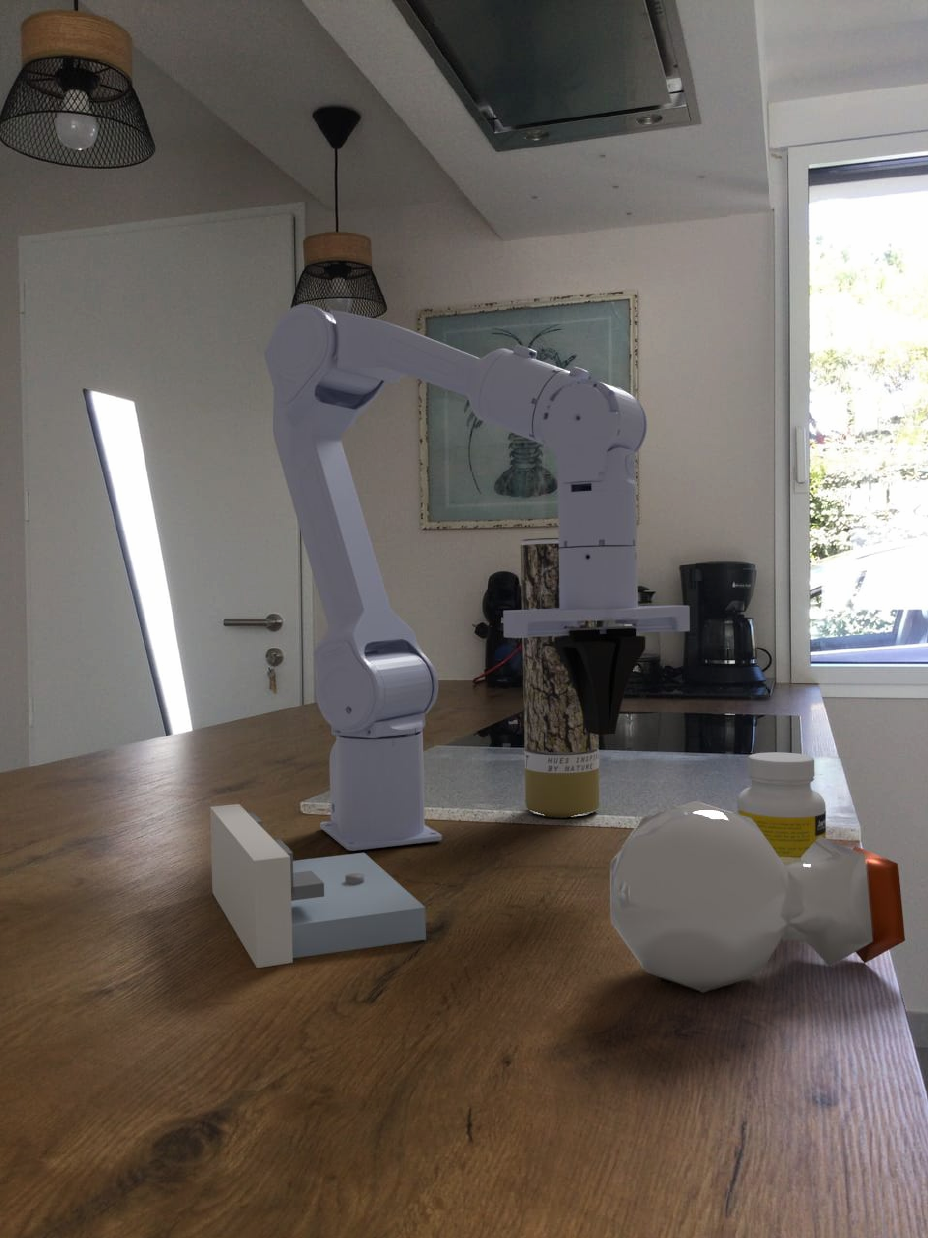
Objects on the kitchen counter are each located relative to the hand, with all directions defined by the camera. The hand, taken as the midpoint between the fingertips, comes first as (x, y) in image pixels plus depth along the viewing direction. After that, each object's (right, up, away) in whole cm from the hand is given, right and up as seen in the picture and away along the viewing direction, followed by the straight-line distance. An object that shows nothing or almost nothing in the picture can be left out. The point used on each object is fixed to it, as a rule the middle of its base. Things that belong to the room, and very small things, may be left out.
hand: (600, 733), depth 78 cm
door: (-19, -11, -10) cm, 24 cm away
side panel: (-23, -11, -11) cm, 27 cm away
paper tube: (-1, -10, +19) cm, 21 cm away
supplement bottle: (+10, -10, -11) cm, 18 cm away
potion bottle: (+5, -11, -21) cm, 25 cm away
